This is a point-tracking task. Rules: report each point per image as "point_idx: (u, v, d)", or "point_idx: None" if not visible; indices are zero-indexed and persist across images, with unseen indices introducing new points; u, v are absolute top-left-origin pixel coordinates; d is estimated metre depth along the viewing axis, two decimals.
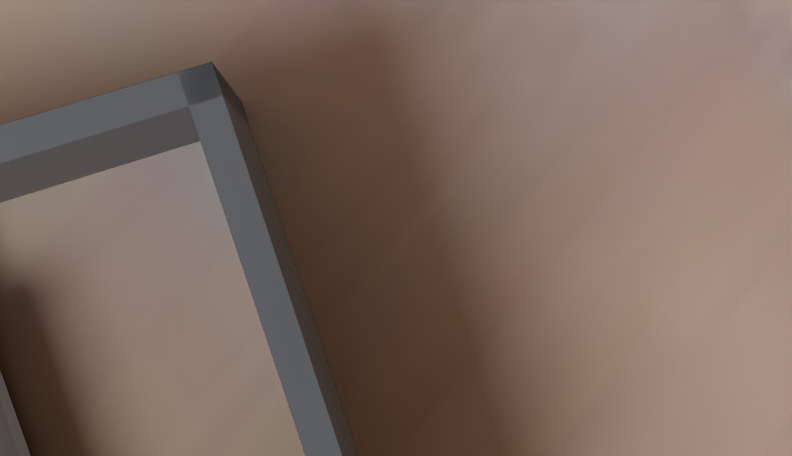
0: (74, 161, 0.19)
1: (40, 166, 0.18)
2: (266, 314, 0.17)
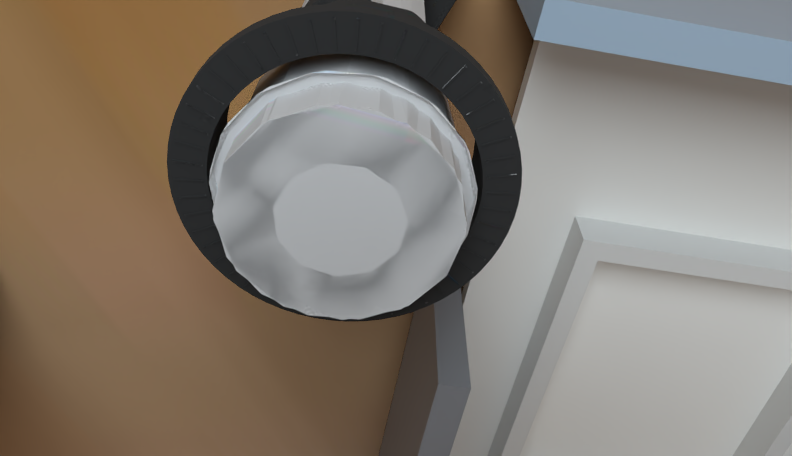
0: None
1: None
2: None
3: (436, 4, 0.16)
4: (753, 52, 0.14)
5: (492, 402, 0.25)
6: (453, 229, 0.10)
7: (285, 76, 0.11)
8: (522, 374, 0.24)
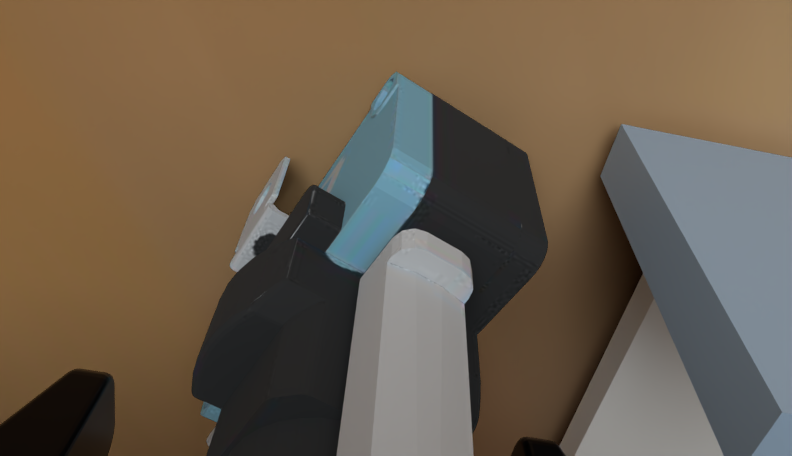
0: None
1: None
2: None
3: (486, 290, 0.08)
4: None
5: None
6: None
7: None
8: None
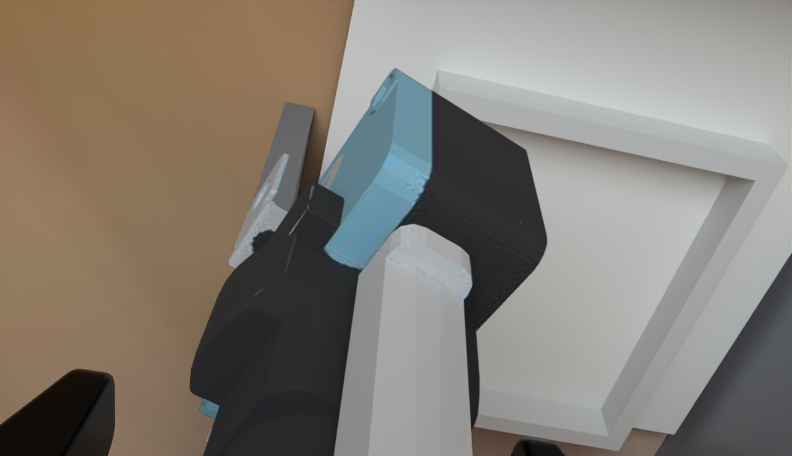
0: None
1: None
2: None
3: (485, 285, 0.08)
4: None
5: None
6: None
7: None
8: None
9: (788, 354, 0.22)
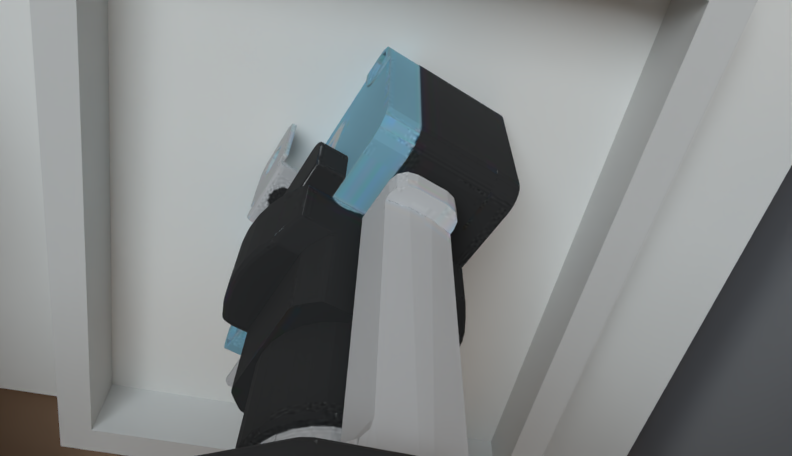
0: None
1: None
2: None
3: (468, 227, 0.10)
4: None
5: None
6: None
7: None
8: None
9: None
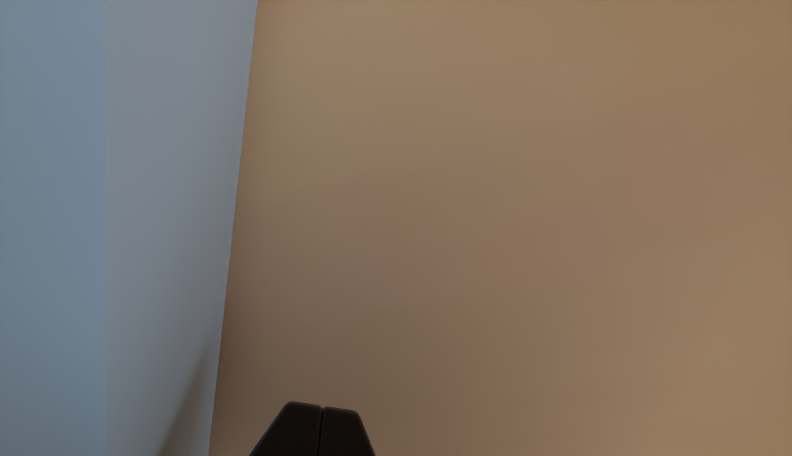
0: None
1: None
2: None
3: None
4: (46, 224, 0.04)
5: None
6: None
7: None
8: None
9: None
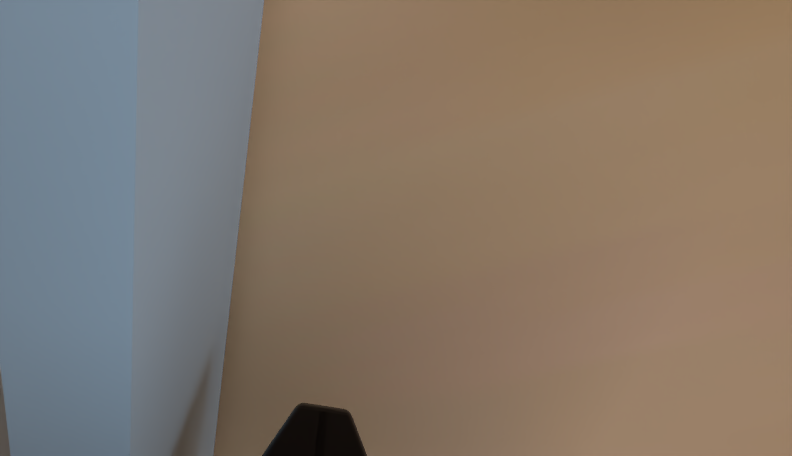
0: None
1: None
2: None
3: None
4: (75, 222, 0.04)
5: None
6: None
7: None
8: None
9: None
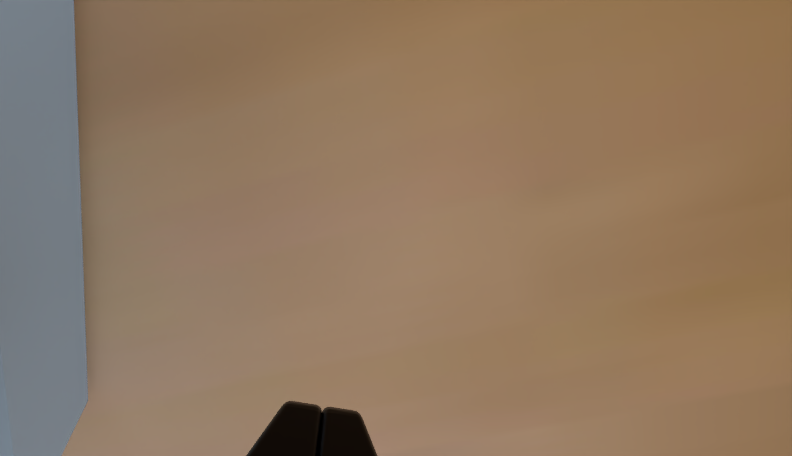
0: None
1: None
2: None
3: None
4: None
5: None
6: None
7: None
8: None
9: None
